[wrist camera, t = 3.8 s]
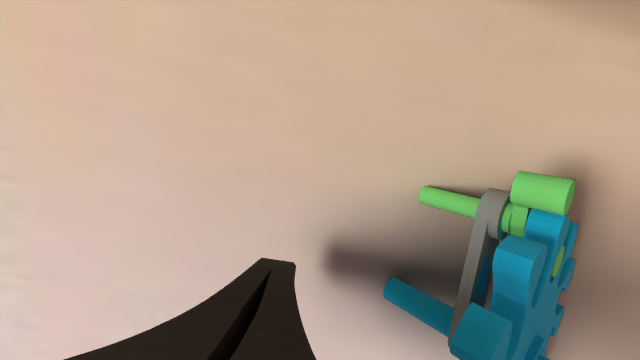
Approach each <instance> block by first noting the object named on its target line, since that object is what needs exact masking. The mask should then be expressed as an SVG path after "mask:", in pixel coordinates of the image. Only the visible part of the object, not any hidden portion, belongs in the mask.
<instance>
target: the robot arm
mask: <svg viewBox="0 0 640 360" xmlns="http://www.w3.org/2000/svg"><path fill="white" fill-rule="evenodd" d="M295 270H296V265H295V264H294V263H293V262H287V261H280V260H273V259H267V258H261V259H259V260H258V261H257V262H256V263H255V264H253V265H252V266H251V267H250V268H249V269H247V270H246V271H245V272H244V273H242V274H241V275H240V276H239V277H237V278H236V279H235V280H233V281H232V282H231V283H230V284H228V285H227V286H226V287H224V288H223V289H221V290H220V291H218V292H217V293H216V294H214V295H213V296H211V297H210V298H208V299H207V300H205V301H204V302H202V303H200V304H199V305H197V306H195V307H194V308H192V309H190V310H188V311H186V312H185V313H183V314H181V315H179V316H177V317H175V318H173V319H171V320H169V321H167V322H164V323H162V324H160V325H158V326H156V327H154V328H152V329H150V330H147V331H145V332H142V333H140V334H138V335H135V336H133V337H130V338H127V339H125V340H122V341H119V342H117V343H114V344H111V345H108V346H106V347H103V348H100V349H96V350H93V351H90V352H87V353H84V354H80V355H77V356H74V357H71V358H68V359H64V360H316V358H315V356H314V354H313V352H312V349H311V347H310V344H309V342H308V339H307V337H306V334H305V331H304V328H303V325H302V321H301V318H300V314H299V310H298V305H297V300H296V294H295V286H294V279H295Z"/></svg>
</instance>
